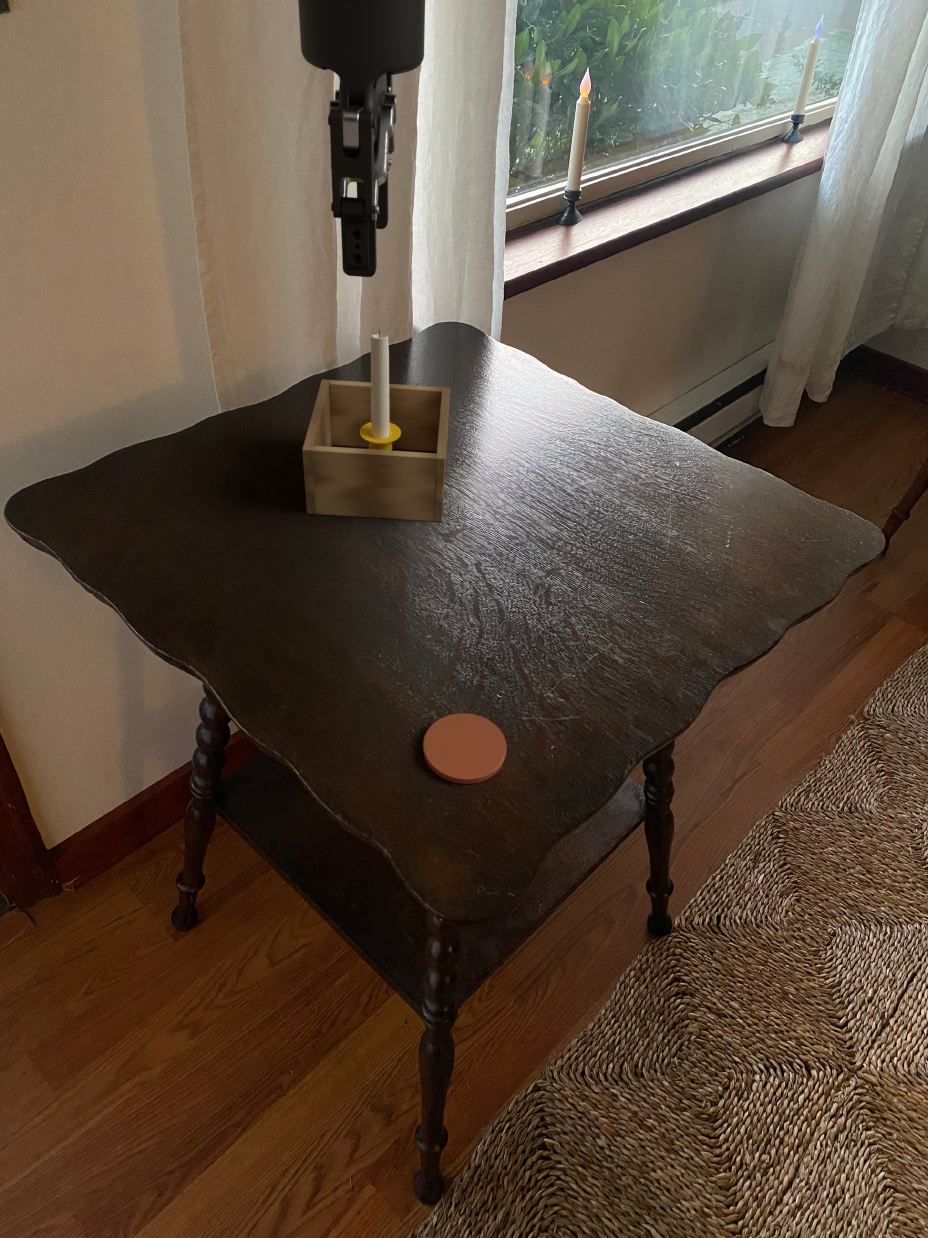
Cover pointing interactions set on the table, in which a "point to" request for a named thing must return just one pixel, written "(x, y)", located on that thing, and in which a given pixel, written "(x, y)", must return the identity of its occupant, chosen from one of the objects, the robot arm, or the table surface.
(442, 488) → the crate
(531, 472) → the table surface
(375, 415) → the candle
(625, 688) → the table surface
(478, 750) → the coaster
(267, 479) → the table surface
